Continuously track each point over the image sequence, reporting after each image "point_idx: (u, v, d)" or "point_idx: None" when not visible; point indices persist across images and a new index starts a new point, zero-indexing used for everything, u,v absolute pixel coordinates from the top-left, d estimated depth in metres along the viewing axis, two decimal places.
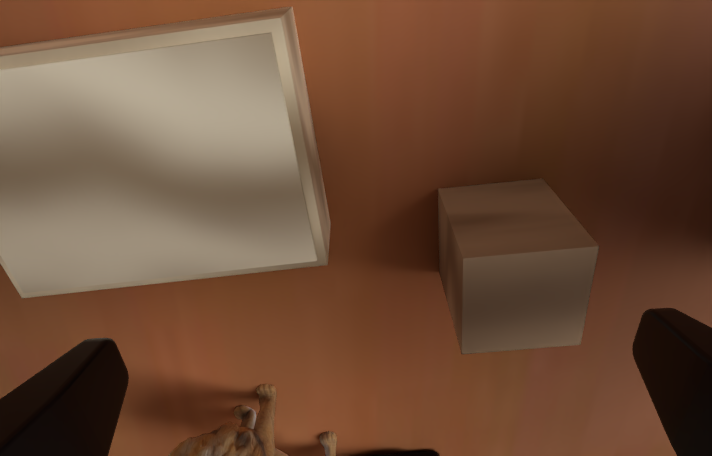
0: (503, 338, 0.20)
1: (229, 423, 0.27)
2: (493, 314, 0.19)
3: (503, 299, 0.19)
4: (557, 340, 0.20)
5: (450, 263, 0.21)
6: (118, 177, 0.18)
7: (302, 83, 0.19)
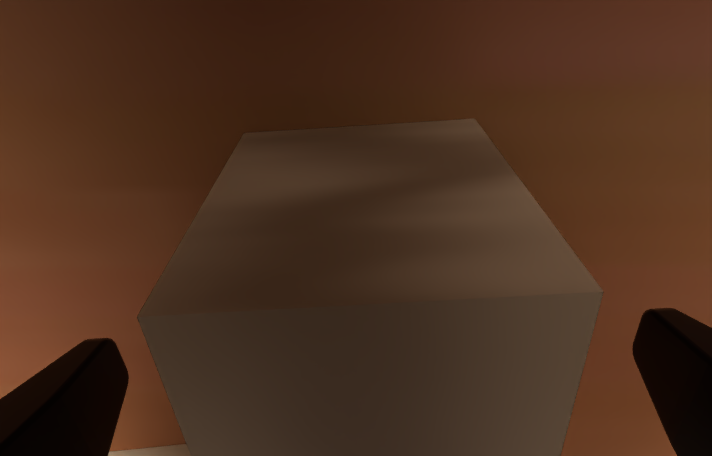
0: None
1: None
2: None
3: None
4: (555, 360, 0.06)
5: None
6: None
7: None
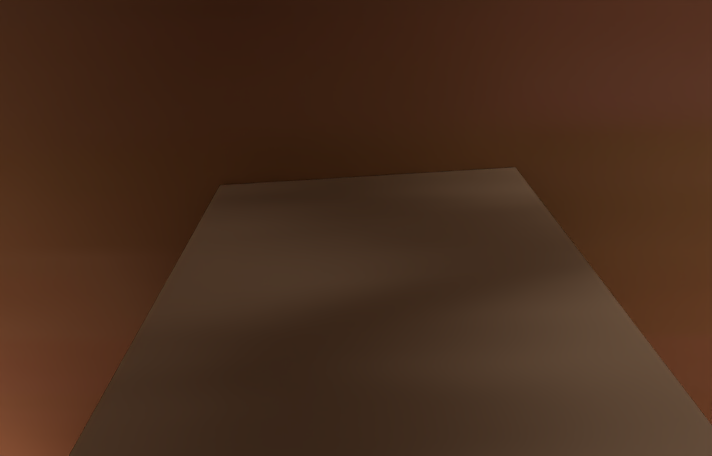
0: None
1: None
2: None
3: None
4: None
5: None
6: None
7: None
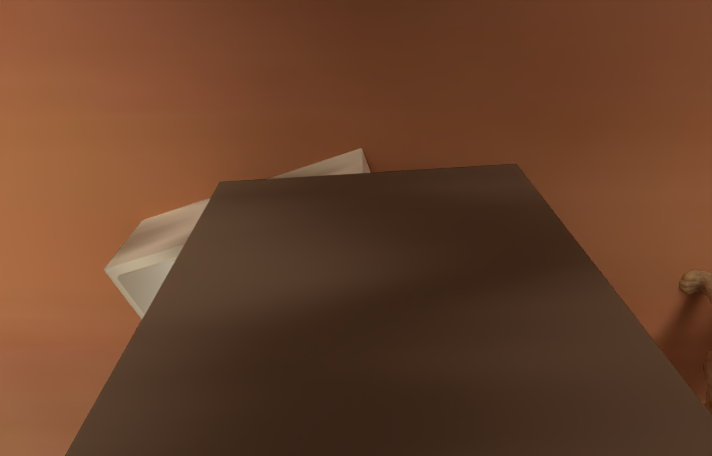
0: None
1: (707, 356, 0.20)
2: None
3: None
4: None
5: None
6: None
7: (191, 214, 0.19)
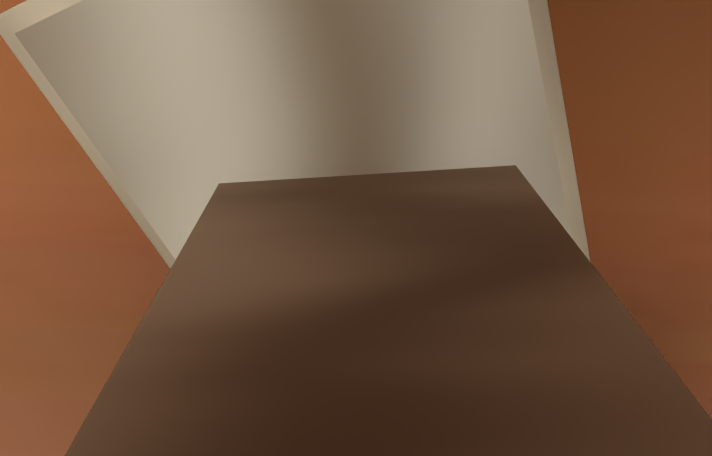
0: None
1: None
2: None
3: None
4: None
5: None
6: None
7: None
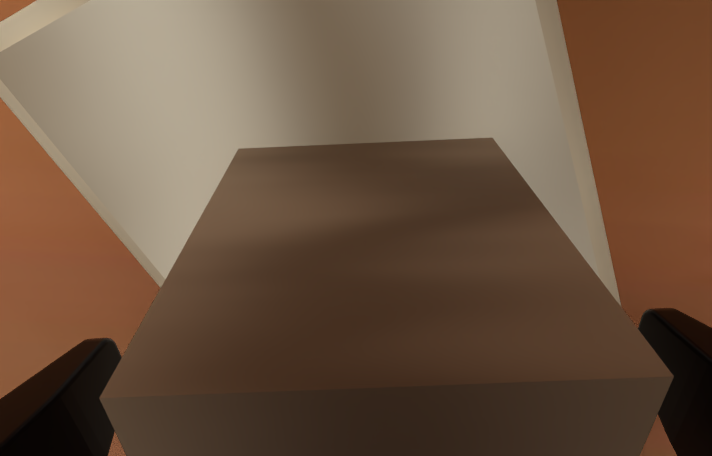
0: None
1: None
2: None
3: None
4: (606, 449, 0.05)
5: None
6: None
7: None
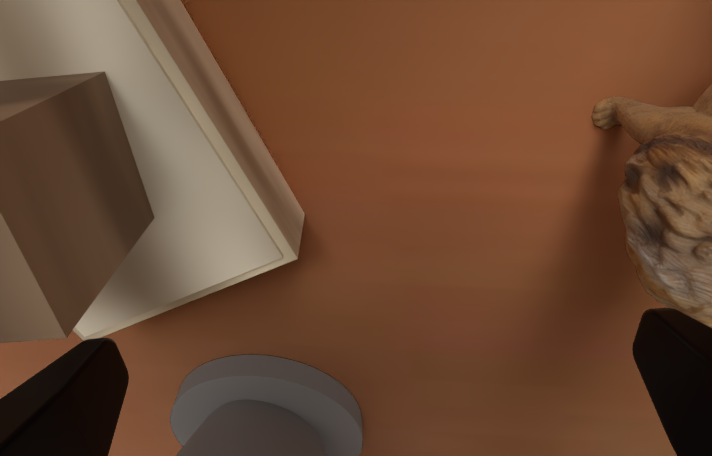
0: (2, 282, 0.10)
1: None
2: None
3: None
4: None
5: None
6: None
7: None
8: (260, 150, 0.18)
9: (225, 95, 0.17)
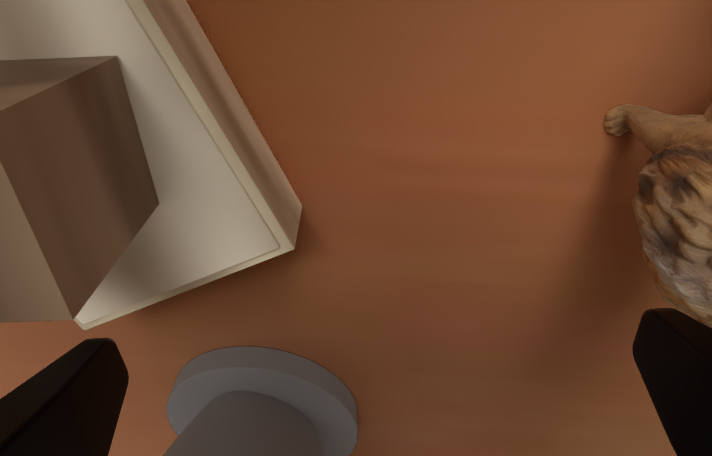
0: (13, 262, 0.11)
1: None
2: None
3: None
4: None
5: None
6: None
7: None
8: (258, 141, 0.19)
9: (224, 85, 0.17)
